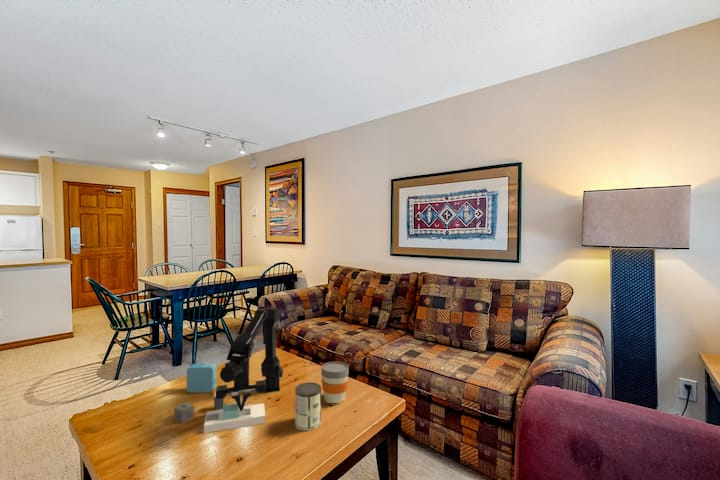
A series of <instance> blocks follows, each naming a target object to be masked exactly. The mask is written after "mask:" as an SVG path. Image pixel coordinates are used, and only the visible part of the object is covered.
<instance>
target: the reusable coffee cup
mask: <svg viewBox="0 0 720 480" xmlns="http://www.w3.org/2000/svg"><path fill="white" fill-rule="evenodd" d="M349 372H350V371H349V365H348V364H347V363H346V362H343V361H342V362H341V361H328V362H326V363H324V364H322V366H321V388H322V390H323V393H324V394H323V396H324V401H325V400H326V401H327V402H329V403H339V402H341V401H343V400H344V401H345V400H346V399H345V398H346V391H347V390H348V386H349V385H348V383H349V378H348V377H349ZM326 401H325V402H326ZM327 402H326V403H327Z"/></svg>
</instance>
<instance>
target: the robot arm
mask: <svg viewBox="0 0 720 480" xmlns="http://www.w3.org/2000/svg"><path fill="white" fill-rule="evenodd" d="M253 315H254V316H253V317H252V318H251V320H250V321H249V323H248V325H247V327H246V328H245V330H244V331H243V333H241V334H240V335H238V336H237V337H236V338H235V339H234V341H233V342H232V343H231V345H230V348H229V350H228V353H227V356H226V361H228V362H226V363H224V367H222V368H221V369H220V372H219V377H220V380H221V381H223V382H224V383H226V384H223V385H218V386H216V387H215V388H216V389H215V392H216V399H221V398H224V399H225V398H226V397H227V394H231V399H233V400H235V403H237V404H238V407H239V409H240V411H242V410H243V407H244V406H246V405H245V404H246V402H247V400H248V398H249V397H251V396H252V391H253V390H254V391H255V393H257V394H261V393H270V392H278V391H281V387H280V380H281V379H280V378H283V375H284V369H283V368H282V366H281V364H280V359H279V358H278V356H277V349H276V347H277V343H276V341H277V339H276V338H277V337H276V333H277V331H276V326H277V324H278V322H279V321H280V317H281V313H280V310H279V309H278V308H272V307H263V309H256V310H255V311H254V314H253ZM262 326H263V327H264V347H265V348H264V351H265V352H264V353H265V355H264V356H265V358H264V359H263V361H262V362H261V363H260V364H261V365H260V367H261V368H260V371H261V376H262V378H264V379H263V380H255V382H254V383H255V384H250V358H251V357H252V356H253V354H252V351H253V349H254V346H255V344H254V343H255V342H254V340H255V338H256V337H257V334H258V333H259V331H260V329H261V327H262ZM231 382H233V386H232V387H228V384H227V383H231ZM241 392H242V398H241Z"/></svg>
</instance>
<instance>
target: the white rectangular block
mask: <svg viewBox="0 0 720 480" xmlns="http://www.w3.org/2000/svg"><path fill="white" fill-rule="evenodd" d="M224 405H225V398H221V399H216V391H215V392H214V395H213V411H215V410H219V409H223V408H224Z"/></svg>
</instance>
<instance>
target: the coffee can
mask: <svg viewBox="0 0 720 480" xmlns="http://www.w3.org/2000/svg"><path fill="white" fill-rule="evenodd" d="M294 392H295V393H294V394H295V397H294V399H295V401H294V402H295V403H294V405H295V408H294V410H295V411H294V412H295V413H294V419H295V420H294V426H295V427H296V428H297V430H299V431H300V430H301V431H305V430H308V431H313V430H315V428H316V429H318V428H319V427H320V426H321V424H322V385H321V384H319V383H316V382H303V383H300V384H298V385H297V386H296V387H295V389H294ZM319 425H320V426H319ZM318 426H319V427H318ZM312 429H313V430H312Z"/></svg>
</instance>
